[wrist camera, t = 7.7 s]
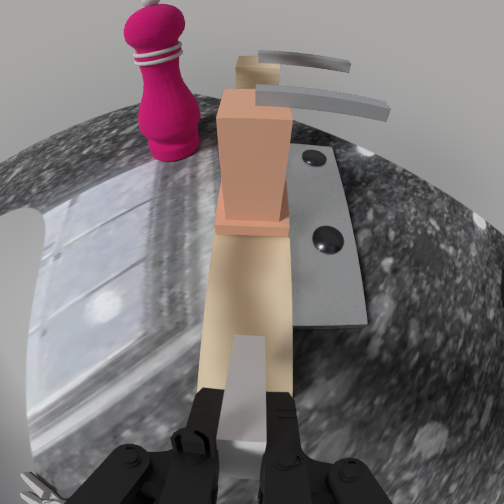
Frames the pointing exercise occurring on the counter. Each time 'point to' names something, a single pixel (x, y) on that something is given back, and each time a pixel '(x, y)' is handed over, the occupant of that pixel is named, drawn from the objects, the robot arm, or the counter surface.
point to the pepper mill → (163, 81)
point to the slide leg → (268, 151)
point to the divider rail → (253, 267)
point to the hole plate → (321, 244)
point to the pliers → (39, 491)
